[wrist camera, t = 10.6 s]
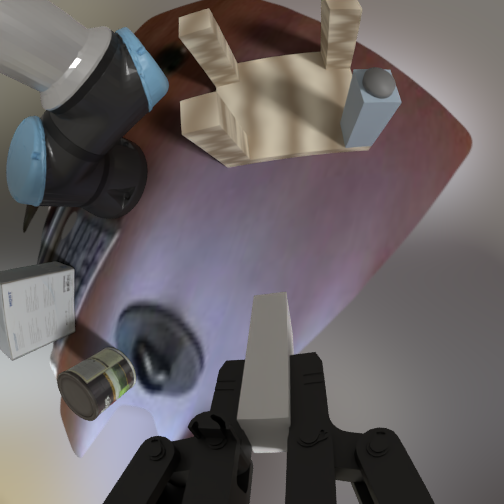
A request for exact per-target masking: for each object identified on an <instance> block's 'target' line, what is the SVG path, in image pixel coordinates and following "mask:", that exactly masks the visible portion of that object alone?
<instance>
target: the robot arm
mask: <svg viewBox="0 0 504 504" xmlns="http://www.w3.org/2000/svg"><path fill="white" fill-rule="evenodd" d="M0 73H2V74H4V75H6V76H8V77H10V78H13V79H15V80H17V81H19V82H21V83H23V84H25V85H27V86H29V87H31V88H33V89H36V90H37V91H39V92H40V95H41V103H42V107H43V108H44V109H45V110H46V111H45V113H44V114H43V115H42V117H41V118H39V117H37V116H33V117H31V116H30V117H28V118H26V119H24V120H23V121H22V122H21V123H20V125H19V126H18V127H17V129H16V131H15V133H14V136H13V138H12V141H11V144H10V148H9V152H8V158H7V168H6V169H7V171H6V174H7V183H8V187H9V191H10V193H11V195H12V197H13V198H14V199H15V200H16V201H17V202H19V203H22V204H30V205H33V206H65V207H82V208H83V209H85V210H87V211H88V212H90V213H92V214H94V215H95V216H97V217H100V218H119V217H121V216H124V215H125V214H127V213H128V212H130V211H131V210H132V209H133V208H134V207H135V205H136V204H137V203H138V201H139V199H140V198H141V196H142V194H143V191H144V188H145V185H146V180H147V163H146V159H145V156H144V153H143V152H142V150H141V149H140V147H139V146H138V145H137V144H135V143H134V142H132V141H129V140H127V139H124V138H122V137H123V136H124V135H125V134H126V133H127V132H128V131H129V130H130V129H131V128H132V127H133V126H134V125H135V124H136V123H137V122H138V121H139V120H140V119H141V118H142V117H143V116H144V115H145V114H147V113H148V112H150V111H151V110H152V108H153V106H154V105H155V104H156V103H157V102H158V101H159V100H160V99H161V98H162V97H163V96H165V94H166V93H167V91H168V87H169V83H168V80H167V78H166V76H165V75H164V73H163V72H162V70H161V69H160V67H159V66H158V65H157V63H156V62H155V60H154V59H153V58H152V56H151V55H150V54H149V53H148V51H147V50H145V48H144V46H143V45H142V44H141V42H140V41H139V40H138V39H137V37H136V36H135V35H134V34H133V33H132V32H131V31H130V30H129V29H128V28H126V27H124V28H121V29H119V30H117V31H116V32H115V33H114V32H113V31H112V30H110V29H109V28H108V27H106V26H100V27H95V28H90V29H88V28H86V27H85V26H83V25H82V24H81V23H79V22H78V21H77V20H75V19H74V18H73V17H71V16H70V15H69V14H67V13H66V12H64V11H63V10H62V9H60V8H58V7H57V6H56V5H55V4H53V3H52V2H50V1H49V0H0ZM188 428H189V430H190V431H191V432H192V433H193V435H194V437H191V438H187V439H182V440H177V441H170V440H169V439H167V438H166V437H162V436H154V437H151V438H149V439H147V440H145V441H144V442H143V444H142V445H141V446H140V448H139V449H138V451H137V452H136V454H135V455H134V457H133V458H132V460H131V461H130V463H129V464H128V466H127V468H126V469H125V471H124V472H123V474H122V475H121V477H120V478H119V480H118V482H117V483H116V484H115V486H114V487H113V489H112V491H111V492H110V493H109V495H108V497H107V498H106V500H105V501H104V503H103V504H249V503H250V493H251V483H252V473H253V463H252V460H251V451H252V450H253V451H254V453H270V452H287V470H286V497H285V504H336V486H335V485H336V484H335V480H341V481H348V482H351V484H352V487H353V489H354V491H355V494H356V496H357V499H358V501H359V504H434V501H433V500H432V498H431V496H430V494H429V492H428V490H427V488H426V486H425V484H424V483H423V481H422V479H421V477H420V475H419V473H418V472H417V470H416V468H415V466H414V464H413V462H412V461H411V459H410V457H409V455H408V454H407V451H406V450H405V448H404V446H403V445H402V443H401V441H400V439H399V438H398V436H397V435H396V434H395V433H394V432H393V431H392V430H389V429H387V428H375V429H371V430H369V431H367V432H366V433H364V434H362V433H353V432H346V431H342V430H340V429H338V428H337V427H335V426H334V425H333V424H332V422H331V420H330V418H329V414H328V405H327V397H326V389H325V380H324V373H323V365H322V360H321V359H320V358H319V357H318V355H317V354H316V352H312V353H305V354H296V355H293V334H292V327H291V321H290V314H289V307H288V301H287V294H286V292H280V293H272V294H264V295H256V296H254V300H253V307H252V314H251V322H250V329H249V336H248V343H247V351H246V358H245V360H230V361H226V362H225V363H224V364H223V366H222V367H221V369H220V370H219V374H218V378H217V383H216V387H215V392H214V396H213V400H212V405H211V409H210V411H208V412H203V413H201V414H198V415H196V416H195V417H194V418H193V419H192V420H191V421H190V423H189V425H188Z"/></svg>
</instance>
